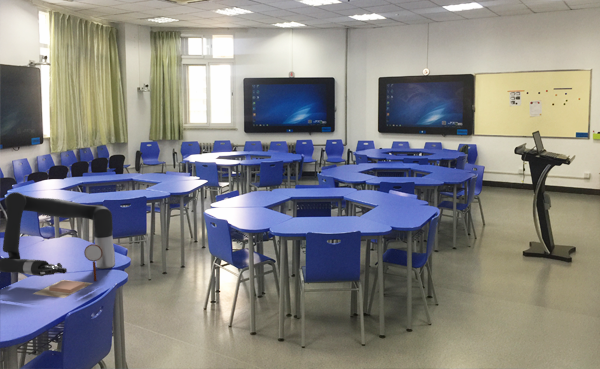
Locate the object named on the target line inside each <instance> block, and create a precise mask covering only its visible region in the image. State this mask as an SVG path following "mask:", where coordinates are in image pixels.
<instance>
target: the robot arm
mask: <svg viewBox="0 0 600 369" xmlns="http://www.w3.org/2000/svg"><path fill="white" fill-rule="evenodd" d="M4 205H5V207H6V225H5V230H4V234H3V243H2V251H3V252H4V253H7V254H8V257H2V258H0V272H2V273H11V274H12V273H15V274H26V275H29V276H38V277H44V276H52V275H54V274H66V273H67V272H68V270H67V267H66V268H65V267H63V265H62V264H61V262H57V263H56V264H54V263H53V264H52V263H49V262H48V260H47V261H46V260H43V259H42V260H41V259H27V258H21V254H20V253H21V252H20V249H19V248H20V241H21V240H20V239H21V224H22V217H23V213H24V211H25V212H34V213H39V214H42V215H46V216H51V217H55V218H62V219H77V218H80V219H87V220H91V221H93V222H94V233H93V234H94V244H95V245H98V246H99V247H100V248H101V249H102V257H101V258H100V259H99V260H97V261H95V265H96V269H110V268H113V267H114V266H115V264H116V255H115V254H116V253H115V247H114V239H113V230H114V227H113V224H114V223H113V214H112V211H111V210H110V209H109V208H108V207H107V206H104V205H94V204H93V205H91V204H83V203H79V202H75V201H71V200H66V199H60V198H59V199H58V198H47V197H35V196H30V195H25V194H24V193H21V192H19V191H15V192H10V193H8V194H7V195H6V197H5V199H4Z"/></svg>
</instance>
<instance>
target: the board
mask: <svg viewBox="0 0 600 369" xmlns="http://www.w3.org/2000/svg"><path fill="white" fill-rule="evenodd" d="M64 280H65V279H62V280H60V281H57V282H55V283H53V284H51V285H49V286H47V287H45V288H43V289H39V290H38V291H36V292H34V293H32V295H38V296H46V297H47V296H48V297H53V298H61V299H65V298H67V297H69V296H71V295H73V294H75V293H77V292H79V291H80V290H83V289H85V288H87V287H89V286H90V285H92V284H94V282H86V281H83V282H84V283H85V287H83V288H81V289H79V290H77V291H75V292H73V293H71V294H68V293H60V292H52V291H49V287H51V286H53V285H55V284H57V283H59V282H61V281H64ZM66 280H67V279H66ZM67 281H71V280H67ZM74 281H75V282H79V281H77V280H74Z"/></svg>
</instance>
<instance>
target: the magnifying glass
mask: <svg viewBox="0 0 600 369" xmlns="http://www.w3.org/2000/svg"><path fill="white" fill-rule="evenodd" d="M83 252H84V257H85V258H86V260H88V261H91V262H92V268H93V270H92V271H93V282H97V281H98V280H97V266H96V261H97V260H99V259H100V258H101V257H102V249H101V248H100V247H99V246H98V245H95V243H93V244H89V245H87V246H86V247H85V249H84V251H83Z"/></svg>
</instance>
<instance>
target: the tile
mask: <svg viewBox="0 0 600 369" xmlns="http://www.w3.org/2000/svg"><path fill="white" fill-rule="evenodd" d="M63 280H64V281H61V280H60V281H61V282H59V281H58V282H59V283H57V282H56V283H57V284H55V283H54V284H55V285H53V284H52V285H53V286H51V287H49V291H52V292H60V293H68V294H71V293H73V292H75V291H77V290H79V289H81V288H83V287H85V283H84V282H85V281H78V282H75V281H76V280H70V281H67V279H63ZM85 288H86V287H85ZM83 289H84V288H83ZM81 290H82V289H81ZM79 291H80V290H79ZM77 292H78V291H77ZM75 293H76V292H75ZM73 294H74V293H73ZM71 295H72V294H71Z"/></svg>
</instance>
